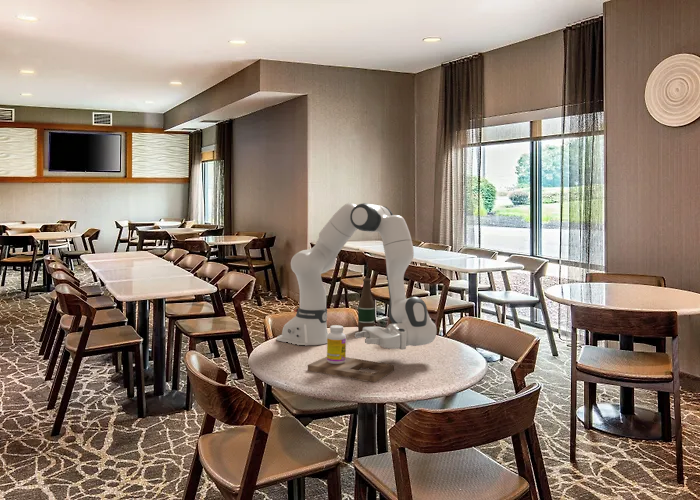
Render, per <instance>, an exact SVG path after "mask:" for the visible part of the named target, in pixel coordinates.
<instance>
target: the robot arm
mask: <svg viewBox="0 0 700 500" xmlns="http://www.w3.org/2000/svg"><path fill="white" fill-rule="evenodd" d="M357 230H359V231H362V232H366V233H367V232H368V233H378V234H379V235H380V237H381V240H382V246H383V250H384V255H385V256H384V257H385V264H386V278H387V279H386V281H387V287H388V288H387V289H388V294H389V295H388V296H389V305H388V317H389V320H390V323H389V324H388V325H387V326H386V327H382V326H374V327H364V328H363V331H361V332H359V331H358V332H355V333H354V337H355V339H362V338H365V339H364V343H365V344H366V345H378V346H380V347H381V348H383V349H388V350H389V349H395V350H396V349H399V350H406V348H407V347H408V346H411V347H418V346H425V345H429V344H432V343H433V342H434V340H435V339H436V337H437V325H436V323H435V322H434V321H433V320H432V319H431V317H430V314H429V312H428V308H427V307H428V306H427V304H426V302H425V301H424V299H422V298H420V297H418V296H411V297H409V298H407V295H406V289H405V281H404V278H405V273H406V270H407V269H408V267H409V265H411V263H412V261H413V259H414V254H415V253H414V245H413V239H412V236H411V232H410V230H409V226H408V225H407V222H406V220H405V218H404V217H403V216H401V215H398V214H394V213H393V211H391V209H390V208H388V207H387V206H384V205H379V204H376V203H366V202H363V203H359V204H356V203H352V202H347V203H345V204H344V205H342V206H341V207H340V208H339V209H338V210H337V211H336V212H335V213H334V214H333V215H332V216H331V218H330V219H329V220H328V221H327V223H326V224H325V225H324V227H323V228H322V229H321V230H320V232H319V233H318V239H317V241H316V243H315V244H314V245H313V247H311V248H308V249H303V250H300V251H298V252H296V253H295V254H294V255H293V256H292V258H291V260H290V269H291V271H292V272H293V273H294V274H295V276H296V280H297V284H298V289H299V290H298V291H299V307H298V308H296V309H295V310H294V313H295V316H293V317H292V319H290V320H288V322H286V323H285V324H284V325H283V328H282V332H281V334H279V335H277V337H276V341H279V342H283V343H286V342H288V343H287V344H291V343H292V344H291V345H295V344H297V345H296V346H299V345H305V346H317V345H318V346H319V345H325V344H327V336H328V334H329V332H328V326H327V324H328V323H327V319H328V308H327V289H326V286H324V284H323V279H322V274H326V273H328V272H329V271H330V270H331V269H332V268H333V267H334V266H335V261H336V259H337V257H338V254H339V253H340V252H341V250H342V249H343V247H344V246H345V245H346V244H347V243H348V241H349V240H350V239H351V238H352V237H353V235H354V234H355V233H356V232H357Z"/></svg>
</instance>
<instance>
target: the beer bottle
mask: <svg viewBox="0 0 700 500" xmlns="http://www.w3.org/2000/svg"><path fill="white" fill-rule="evenodd" d="M362 282H363V287H362V294H361V297H360V299H359V301H358V309H357V310H358V311H357V313H358V314H357V317H358V318H357V322H358V323H357V330H358V332H361V331H363V328H364V327H375V320H376V319H375V317H376V315H375V311H376V309H375V308H376V306H375V305H376V304H375V301H374V298H373V296H372V292H371V291H372V290H371V289H372V288H371V287H372V285H371V282H372V280H371V278H368V277H366V278H363V280H362Z"/></svg>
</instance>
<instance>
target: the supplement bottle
mask: <svg viewBox="0 0 700 500" xmlns="http://www.w3.org/2000/svg"><path fill="white" fill-rule="evenodd" d="M329 331H330V332H328V336H327V343H326V346H327V347H326V357H327V362H328V363H331V364H342V363H344V362H345V359H346V357H347V356H346V352H347V351H346V350H347V344H346V343H347V341H346V340H347V336H346V334H345V333H344V326H342V325H340V324H338V325H337V324H335V325H333V324H332V325H330V327H329Z"/></svg>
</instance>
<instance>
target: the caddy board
mask: <svg viewBox="0 0 700 500" xmlns="http://www.w3.org/2000/svg"><path fill="white" fill-rule="evenodd" d="M395 368H396V367H395V364H392V363H386V362H380V361H379V362H378V361H371V360H366V359H359V358H354V357H348V356H346V359H345V362H344V363H342V364H331V363H328V362H327V356H325V357H323V358H320V359H318V360H316V361H314V362H311V363H309V364H307V371H308V372H313V373H320V374H324V375H330V376H331V375H332V376H338V377H342V378H348V379H349V378H350V379H355V380H360V381H365V382H371V383H376V382H377V381H379V380H381V379H383V378H384V377H386V376H387V375H389V374H391V373H393V372H395ZM361 369H364V370H365V369H366V370H373V371H376V372H371V371H363V370H361Z"/></svg>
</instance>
